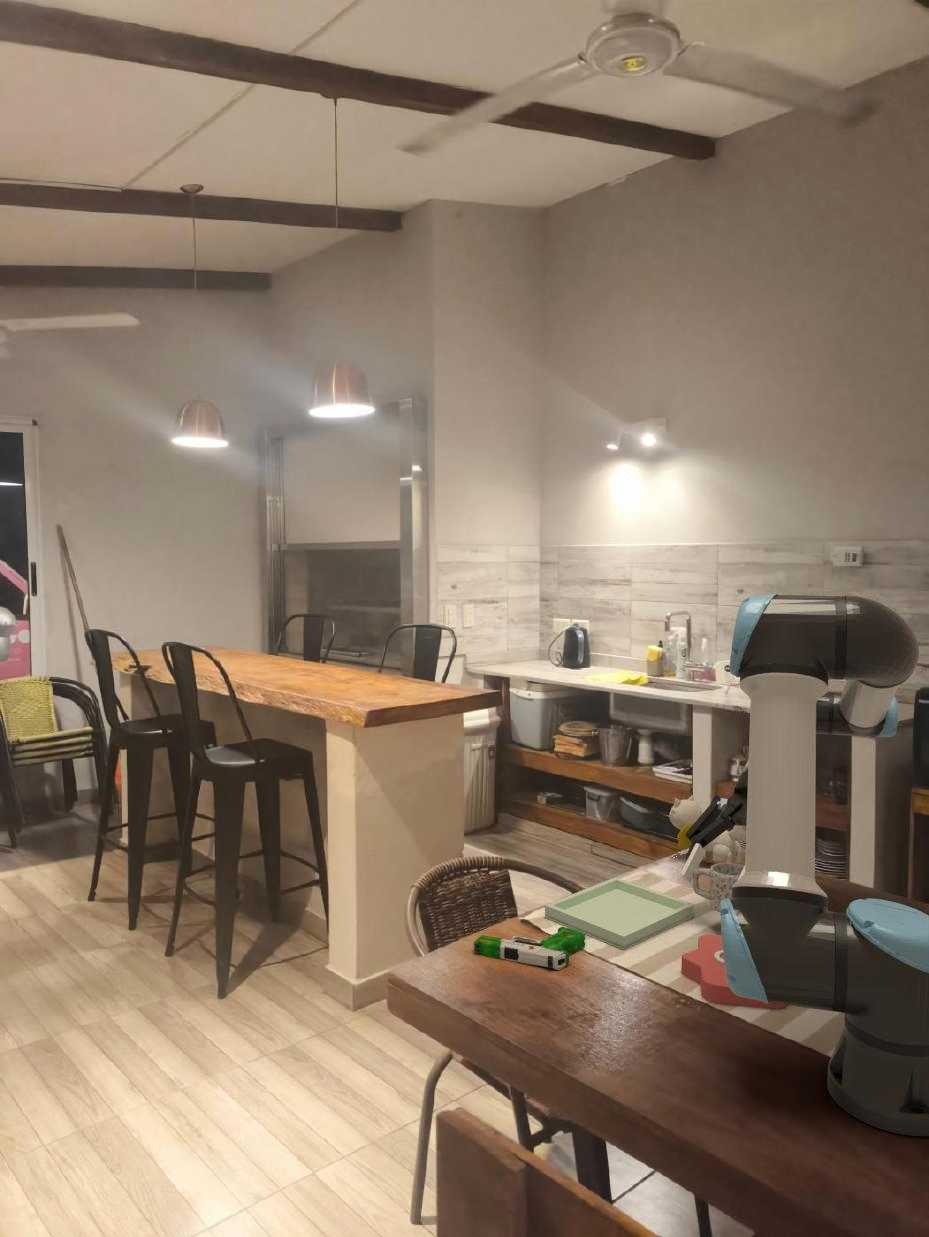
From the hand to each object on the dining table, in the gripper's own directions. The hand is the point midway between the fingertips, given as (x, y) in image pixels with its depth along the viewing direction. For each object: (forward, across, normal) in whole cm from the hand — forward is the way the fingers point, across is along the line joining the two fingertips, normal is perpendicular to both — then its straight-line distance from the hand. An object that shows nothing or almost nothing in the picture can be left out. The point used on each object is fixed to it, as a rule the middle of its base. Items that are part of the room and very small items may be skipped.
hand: (711, 886), depth 161 cm
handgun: (+26, +17, +13) cm, 33 cm away
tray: (+10, +15, -2) cm, 18 cm away
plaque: (+14, -11, +1) cm, 18 cm away
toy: (-14, +18, -25) cm, 34 cm away
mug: (+1, 0, -5) cm, 5 cm away
